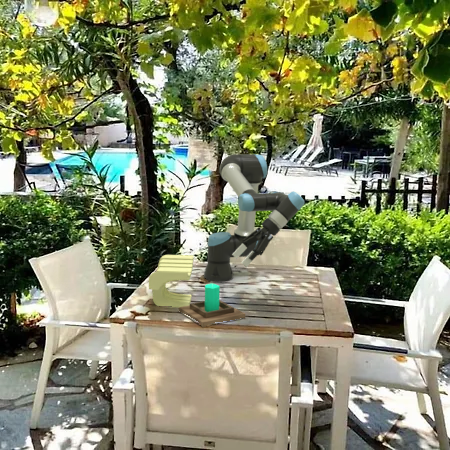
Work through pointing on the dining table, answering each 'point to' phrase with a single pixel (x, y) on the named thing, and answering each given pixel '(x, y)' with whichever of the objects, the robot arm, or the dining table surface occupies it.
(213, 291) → the candle
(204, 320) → the brown square tray
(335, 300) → the dining table surface
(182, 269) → the slatted curved stool
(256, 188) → the robot arm
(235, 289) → the dining table surface
